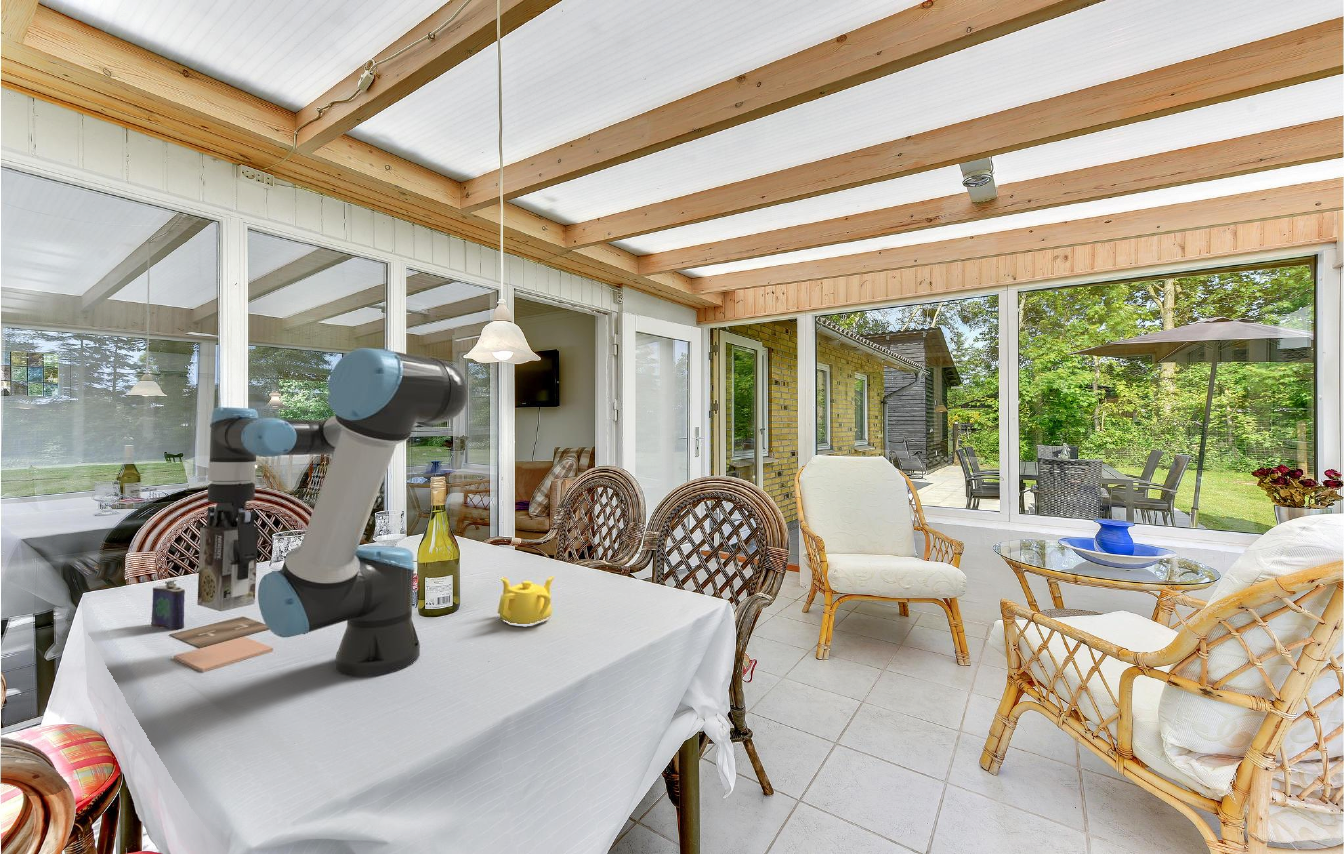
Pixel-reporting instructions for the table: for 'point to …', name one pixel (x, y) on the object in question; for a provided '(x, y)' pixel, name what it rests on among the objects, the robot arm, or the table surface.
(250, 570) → the printed cardboard box
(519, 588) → the teapot
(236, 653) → the pad
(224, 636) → the mat
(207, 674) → the table surface
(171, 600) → the flask
